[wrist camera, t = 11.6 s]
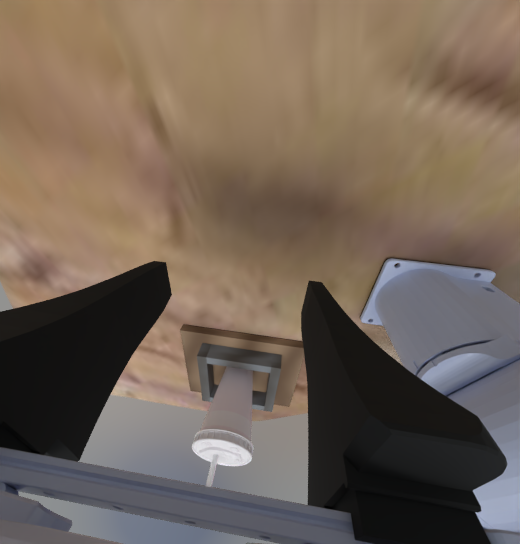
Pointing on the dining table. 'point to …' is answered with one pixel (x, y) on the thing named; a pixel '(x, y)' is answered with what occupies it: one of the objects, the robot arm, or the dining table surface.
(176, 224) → the dining table surface
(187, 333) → the bottle stand
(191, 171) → the dining table surface
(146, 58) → the dining table surface
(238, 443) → the smoothie
